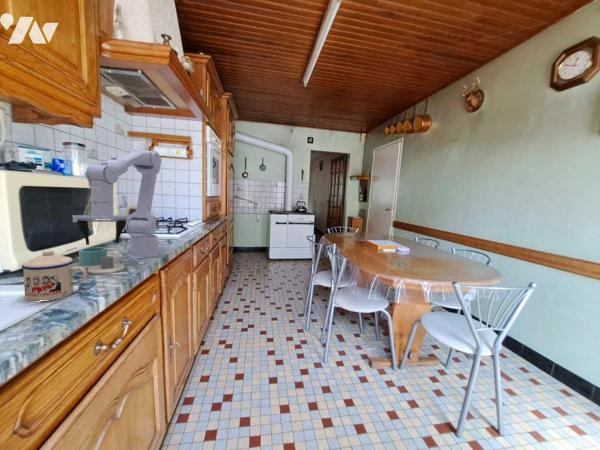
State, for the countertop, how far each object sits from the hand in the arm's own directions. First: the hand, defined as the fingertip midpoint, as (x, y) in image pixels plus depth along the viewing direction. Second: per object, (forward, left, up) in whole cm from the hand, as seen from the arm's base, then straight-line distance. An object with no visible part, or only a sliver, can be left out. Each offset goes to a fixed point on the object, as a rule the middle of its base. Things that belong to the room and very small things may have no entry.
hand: (102, 243), depth 82 cm
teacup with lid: (+12, +16, -10) cm, 22 cm away
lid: (-1, -1, -9) cm, 9 cm away
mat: (-1, -1, -10) cm, 10 cm away
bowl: (+1, -12, -10) cm, 15 cm away
